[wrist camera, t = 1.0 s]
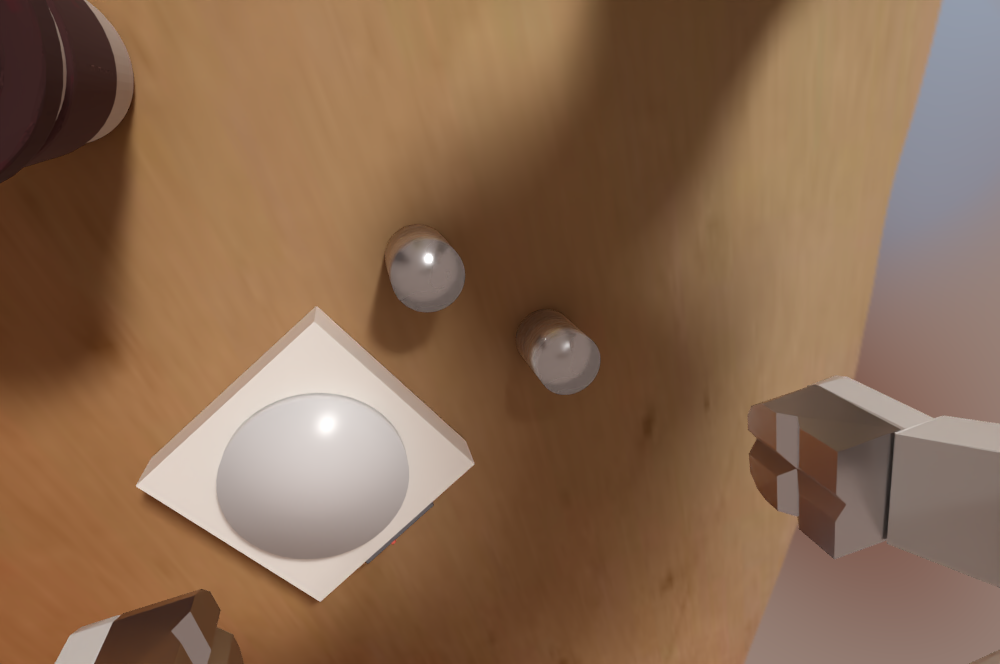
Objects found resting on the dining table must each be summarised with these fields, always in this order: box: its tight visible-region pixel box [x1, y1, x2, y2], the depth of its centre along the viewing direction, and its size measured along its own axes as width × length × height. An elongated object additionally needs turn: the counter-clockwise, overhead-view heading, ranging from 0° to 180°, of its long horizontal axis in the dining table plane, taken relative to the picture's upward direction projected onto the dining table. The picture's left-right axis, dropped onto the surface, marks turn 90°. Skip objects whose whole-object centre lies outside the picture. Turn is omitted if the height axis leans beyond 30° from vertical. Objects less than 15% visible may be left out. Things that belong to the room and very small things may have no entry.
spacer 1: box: [385, 224, 465, 312], centre depth 33 cm, size 4×4×5 cm
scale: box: [136, 306, 475, 602], centre depth 37 cm, size 14×15×4 cm
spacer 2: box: [516, 309, 600, 395], centre depth 37 cm, size 4×4×5 cm
